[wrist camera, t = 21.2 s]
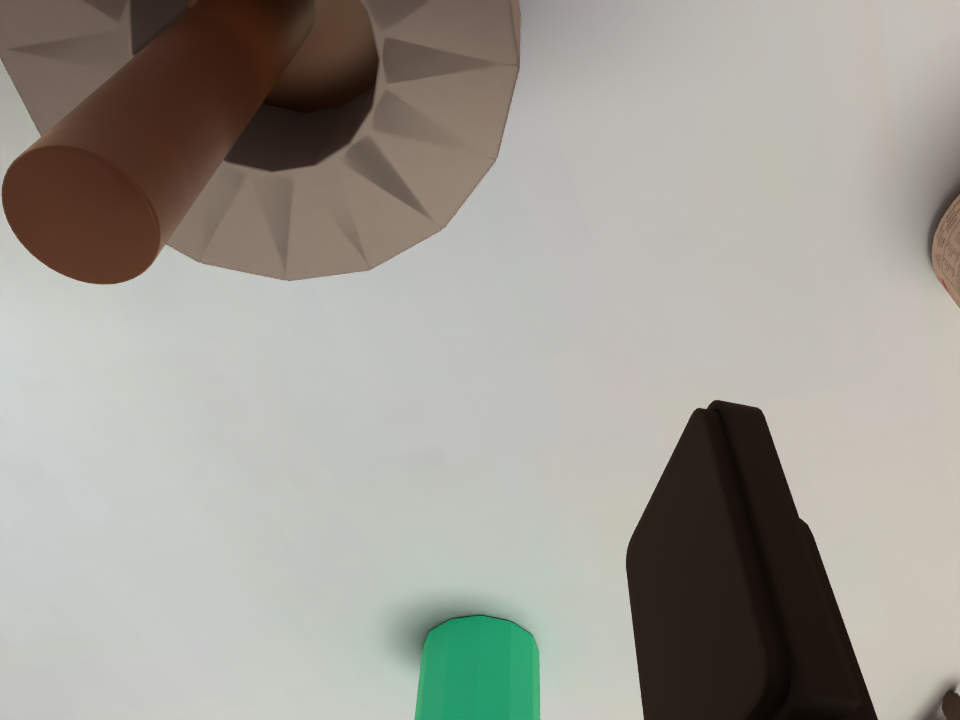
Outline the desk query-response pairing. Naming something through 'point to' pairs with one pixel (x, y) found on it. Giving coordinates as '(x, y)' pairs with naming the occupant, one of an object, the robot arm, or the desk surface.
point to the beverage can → (948, 251)
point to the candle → (479, 672)
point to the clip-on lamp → (951, 706)
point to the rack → (177, 127)
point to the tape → (307, 130)
